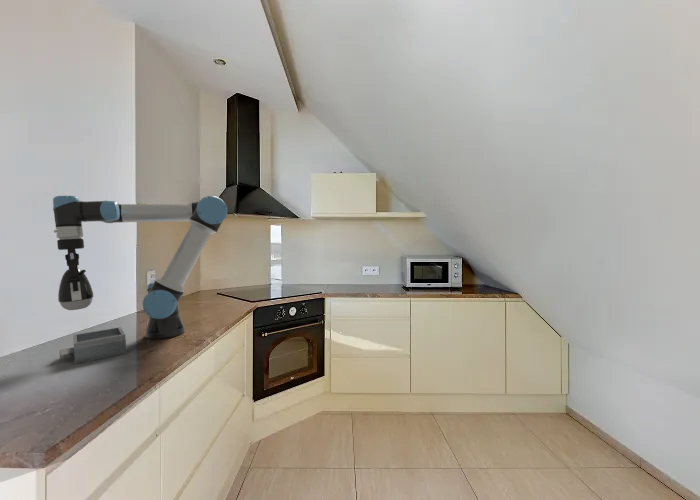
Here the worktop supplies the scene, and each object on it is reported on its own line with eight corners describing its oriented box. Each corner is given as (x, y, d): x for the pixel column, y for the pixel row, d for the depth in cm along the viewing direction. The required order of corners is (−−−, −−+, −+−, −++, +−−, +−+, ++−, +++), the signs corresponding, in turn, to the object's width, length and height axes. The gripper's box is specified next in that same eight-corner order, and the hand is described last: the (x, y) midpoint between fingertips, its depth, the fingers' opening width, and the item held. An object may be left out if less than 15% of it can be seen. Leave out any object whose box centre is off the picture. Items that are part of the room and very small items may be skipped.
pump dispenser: (75, 311, 122) (70, 269, 121) (52, 312, 124) (47, 270, 123) (101, 305, 132) (97, 265, 131) (80, 305, 134) (75, 266, 133)
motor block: (121, 344, 140) (120, 327, 139) (126, 353, 128) (125, 334, 128) (60, 355, 128) (59, 337, 127) (59, 366, 116) (58, 346, 116)
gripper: (58, 239, 133) (64, 296, 134) (55, 238, 115) (62, 304, 117) (82, 238, 138) (88, 293, 139) (83, 237, 120) (90, 300, 121)
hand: (76, 298), depth 128 cm, fingers closed on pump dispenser, 10 cm apart
